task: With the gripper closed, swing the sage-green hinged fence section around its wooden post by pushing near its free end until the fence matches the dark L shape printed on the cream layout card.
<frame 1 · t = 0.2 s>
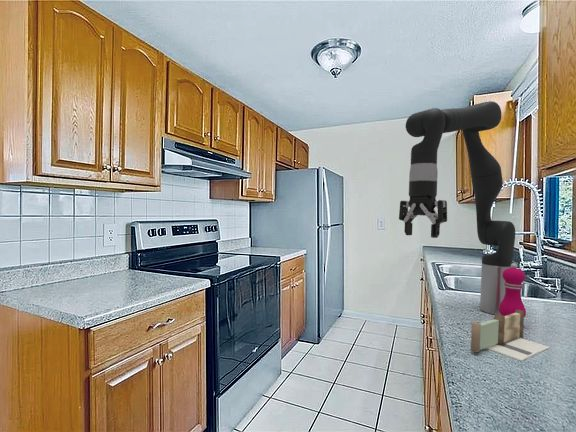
hand: (420, 236, 94), 28 cm above the countertop, tool pointing down, fingers open, 8 cm apart
fence gate: (485, 333, 84), point 4 cm above the countertop, hinge at 0.0°
fence fixed: (498, 344, 88), resting on layout card
pepper mill: (511, 325, 104), on the countertop
layout card: (510, 345, 87), on the countertop
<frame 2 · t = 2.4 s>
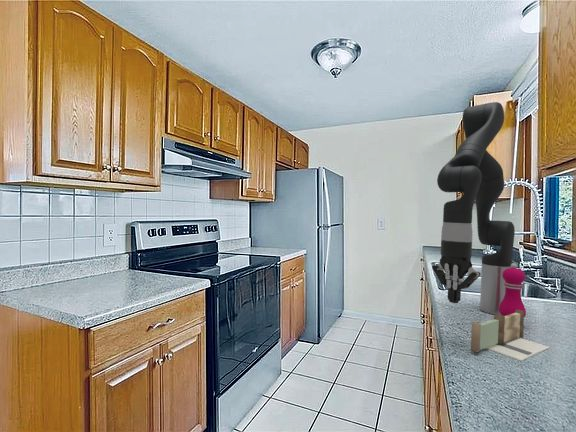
hand: (453, 302, 89), 11 cm above the countertop, tool pointing down, fingers closed
nothing on the countertop moved.
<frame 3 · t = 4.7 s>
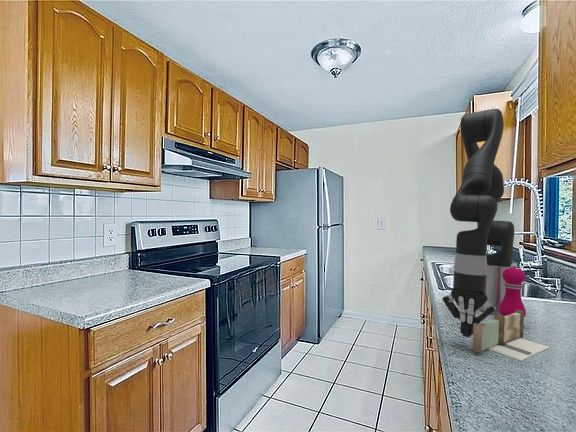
hand: (466, 335, 85), 3 cm above the countertop, tool pointing down, fingers closed
fence gate: (486, 334, 84), point 4 cm above the countertop, hinge at 2.3°, touching gripper, hand
everything else where it was.
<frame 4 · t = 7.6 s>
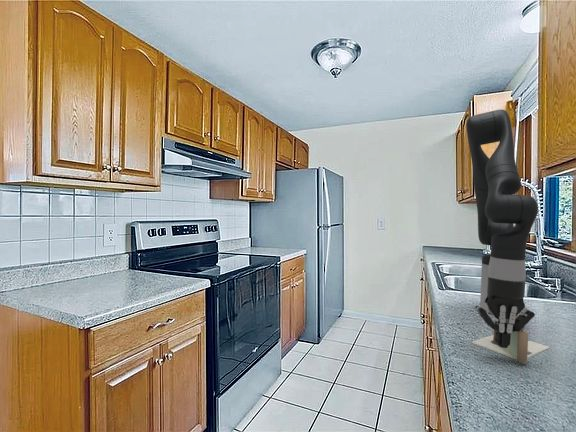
hand: (502, 346, 79), 3 cm above the countertop, tool pointing down, fingers closed
fence gate: (512, 339, 81), point 4 cm above the countertop, hinge at 49.0°, touching gripper, hand
everything else where it was.
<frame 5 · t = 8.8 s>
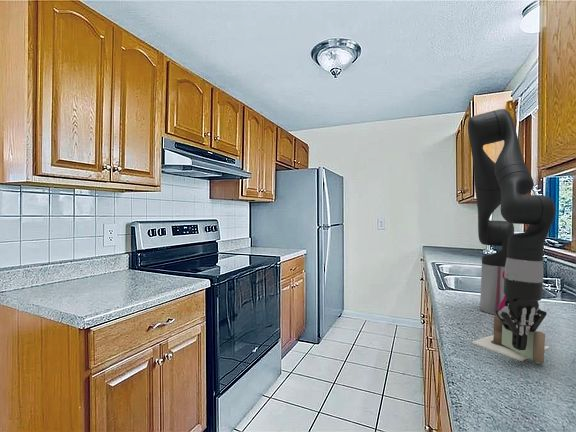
hand: (518, 348, 78), 3 cm above the countertop, tool pointing down, fingers closed
fence gate: (522, 339, 81), point 4 cm above the countertop, hinge at 68.9°, touching gripper, hand
everything else where it was.
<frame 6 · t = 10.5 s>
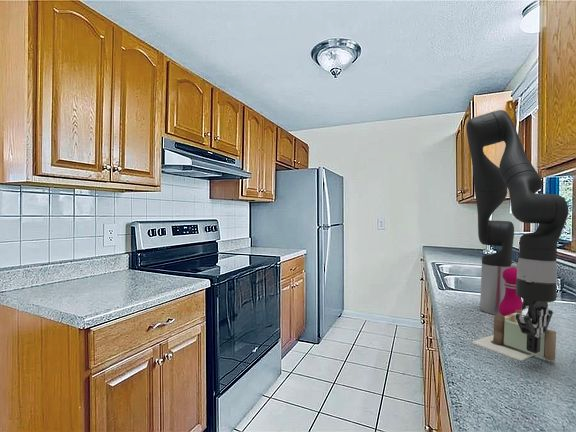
hand: (533, 351, 76), 3 cm above the countertop, tool pointing down, fingers closed
fence gate: (528, 338, 82), point 4 cm above the countertop, hinge at 88.9°
everything else where it was.
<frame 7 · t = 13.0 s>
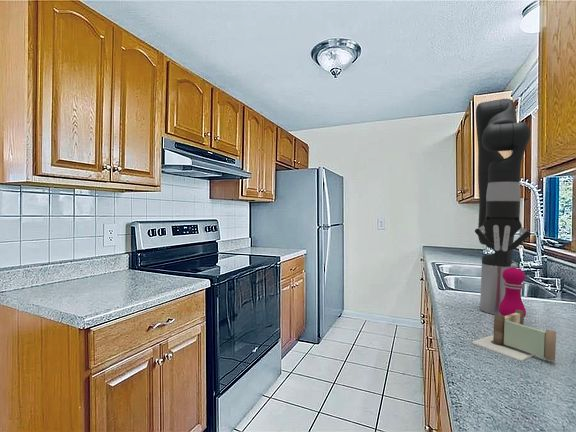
hand: (500, 264, 86), 22 cm above the countertop, tool pointing down, fingers closed
nothing on the countertop moved.
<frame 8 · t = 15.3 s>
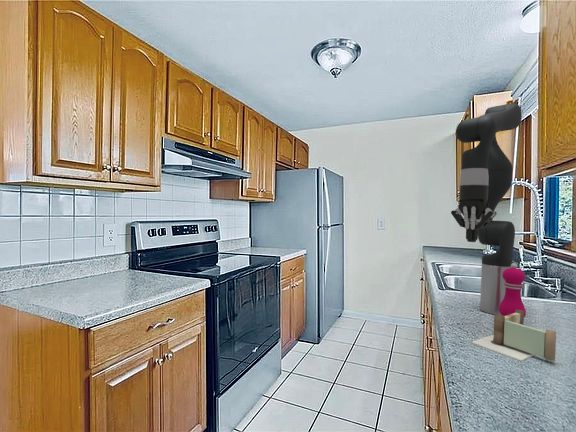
hand: (471, 241, 98), 27 cm above the countertop, tool pointing down, fingers closed
nothing on the countertop moved.
at the end: fence gate at +89° (first picture: +0°); pepper mill moved 0.2 cm from its start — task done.
